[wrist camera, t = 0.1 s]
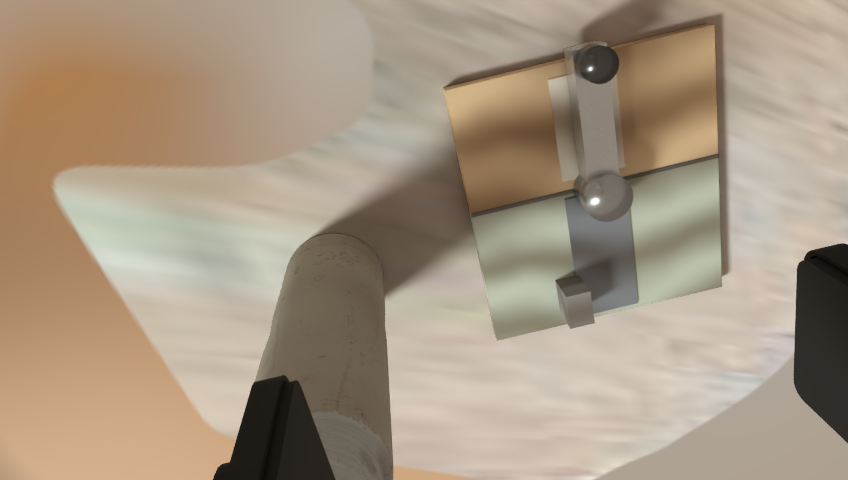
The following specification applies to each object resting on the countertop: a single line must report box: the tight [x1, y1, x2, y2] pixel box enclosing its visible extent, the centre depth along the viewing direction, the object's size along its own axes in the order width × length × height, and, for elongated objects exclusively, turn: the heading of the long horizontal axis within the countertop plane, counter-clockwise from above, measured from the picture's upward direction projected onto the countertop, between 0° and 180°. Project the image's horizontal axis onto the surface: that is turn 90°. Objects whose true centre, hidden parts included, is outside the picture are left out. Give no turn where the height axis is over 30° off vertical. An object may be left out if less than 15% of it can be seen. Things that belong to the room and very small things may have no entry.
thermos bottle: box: [255, 234, 393, 480], centre depth 38 cm, size 8×8×28 cm
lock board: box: [443, 24, 722, 341], centre depth 48 cm, size 22×20×4 cm
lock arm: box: [564, 40, 633, 222], centre depth 44 cm, size 13×4×4 cm, turn 13°
